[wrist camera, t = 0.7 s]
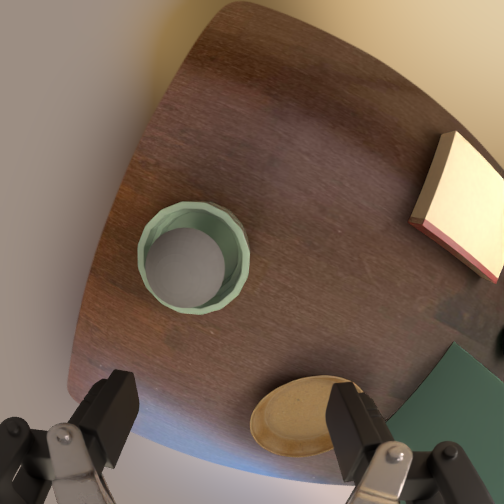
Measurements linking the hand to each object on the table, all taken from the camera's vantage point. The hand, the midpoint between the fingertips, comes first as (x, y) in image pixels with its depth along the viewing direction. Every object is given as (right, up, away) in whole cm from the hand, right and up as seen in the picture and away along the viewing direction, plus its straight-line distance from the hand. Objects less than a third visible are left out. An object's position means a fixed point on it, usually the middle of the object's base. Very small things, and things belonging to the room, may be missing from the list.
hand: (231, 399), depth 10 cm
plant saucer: (+8, -14, +23) cm, 28 cm away
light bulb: (-4, +6, +18) cm, 19 cm away
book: (+28, +11, +18) cm, 35 cm away
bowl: (-4, +6, +18) cm, 20 cm away
